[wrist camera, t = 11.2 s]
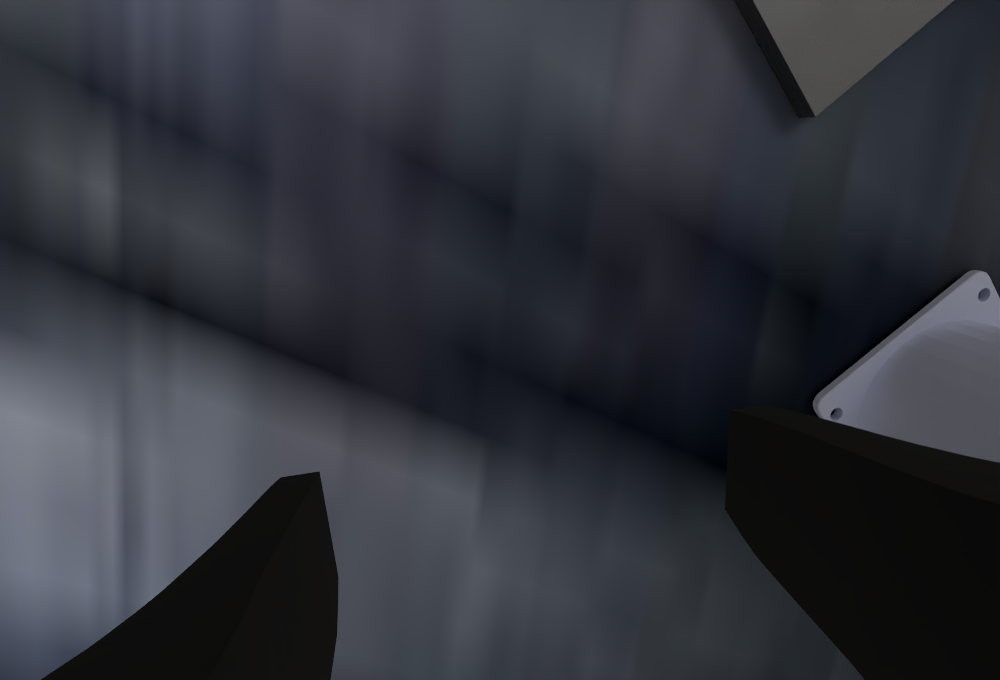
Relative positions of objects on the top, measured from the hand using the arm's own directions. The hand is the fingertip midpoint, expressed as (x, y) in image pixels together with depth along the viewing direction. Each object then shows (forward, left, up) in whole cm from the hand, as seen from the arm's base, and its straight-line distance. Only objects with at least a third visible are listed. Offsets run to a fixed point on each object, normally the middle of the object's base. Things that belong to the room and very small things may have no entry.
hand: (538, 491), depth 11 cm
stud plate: (+2, -17, -10) cm, 20 cm away
